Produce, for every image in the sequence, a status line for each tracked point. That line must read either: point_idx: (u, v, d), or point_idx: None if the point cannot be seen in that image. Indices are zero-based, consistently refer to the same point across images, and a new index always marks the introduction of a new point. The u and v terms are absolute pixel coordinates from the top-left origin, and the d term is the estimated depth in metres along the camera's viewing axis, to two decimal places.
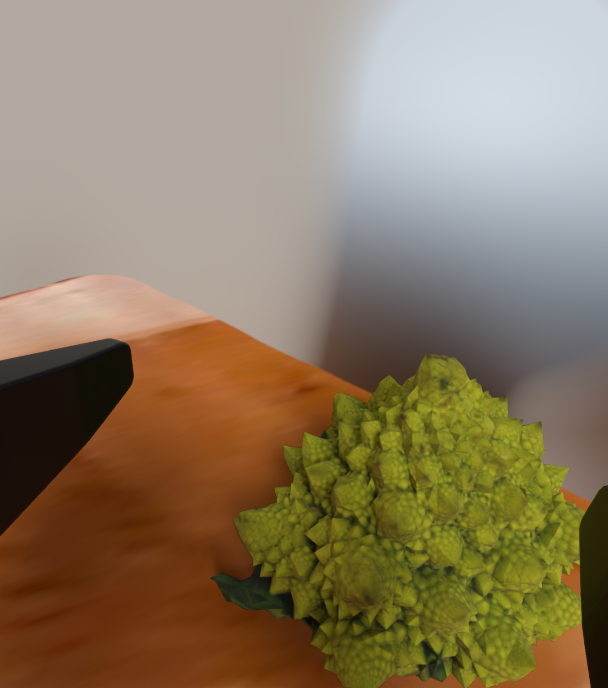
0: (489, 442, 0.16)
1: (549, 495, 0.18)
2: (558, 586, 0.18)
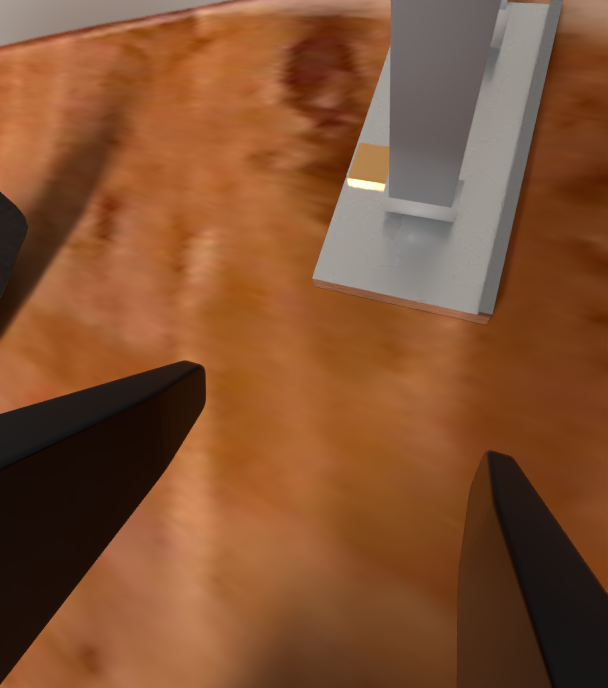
0: None
1: None
2: None
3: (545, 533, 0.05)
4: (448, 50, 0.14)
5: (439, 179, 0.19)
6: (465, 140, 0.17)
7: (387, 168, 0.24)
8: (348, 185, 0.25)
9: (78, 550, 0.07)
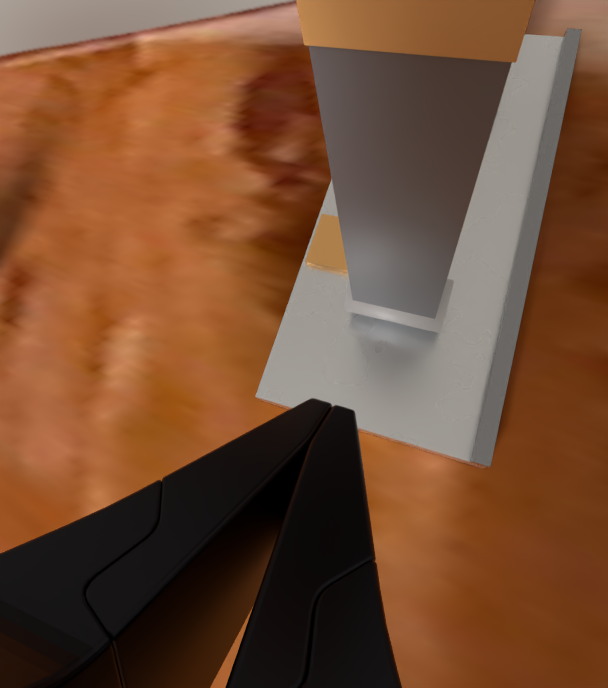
0: None
1: None
2: None
3: (341, 465, 0.06)
4: (416, 154, 0.08)
5: (417, 292, 0.14)
6: (450, 259, 0.12)
7: None
8: (306, 269, 0.19)
9: (233, 620, 0.06)
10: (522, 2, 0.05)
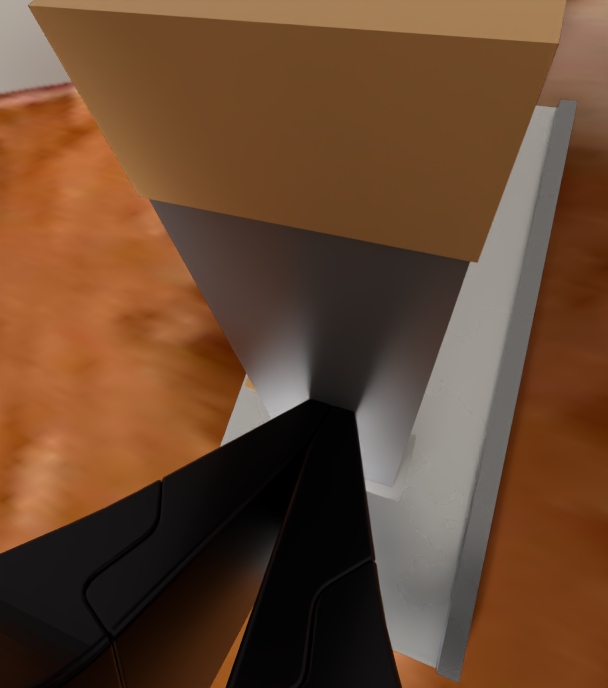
0: None
1: None
2: None
3: (341, 465, 0.06)
4: (338, 344, 0.06)
5: (366, 463, 0.11)
6: (403, 446, 0.09)
7: None
8: (246, 393, 0.16)
9: (233, 620, 0.06)
10: (485, 177, 0.03)
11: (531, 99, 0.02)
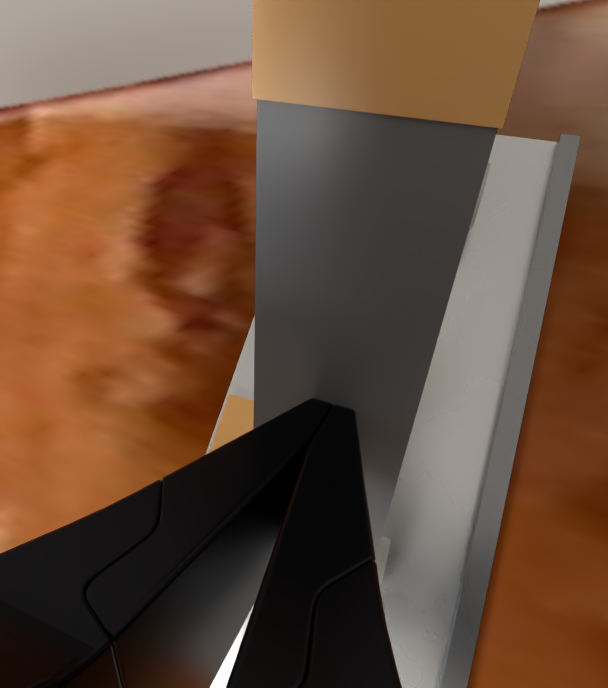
0: None
1: None
2: None
3: (341, 465, 0.06)
4: (368, 274, 0.06)
5: None
6: (397, 467, 0.08)
7: None
8: None
9: (233, 620, 0.06)
10: (513, 44, 0.05)
11: None
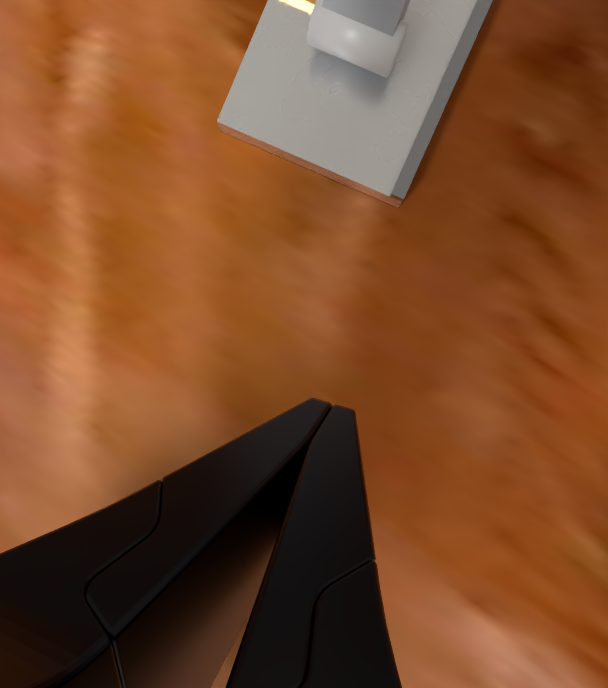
0: None
1: None
2: None
3: (341, 465, 0.06)
4: None
5: None
6: None
7: None
8: None
9: (233, 620, 0.06)
10: None
11: None
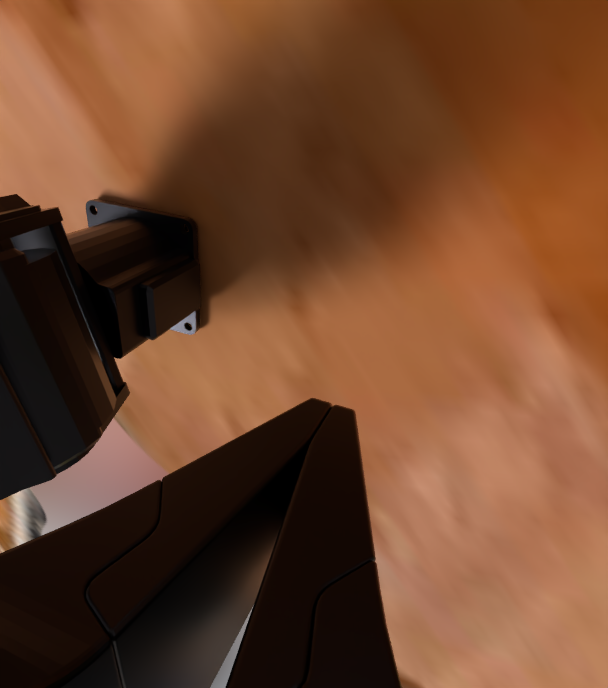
0: None
1: None
2: None
3: (341, 465, 0.06)
4: None
5: None
6: None
7: None
8: None
9: (233, 620, 0.06)
10: None
11: None
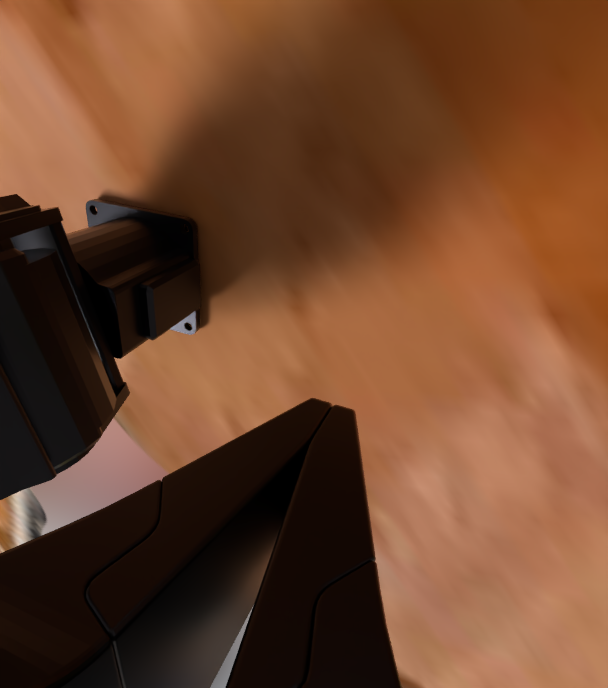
0: None
1: None
2: None
3: (341, 465, 0.06)
4: None
5: None
6: None
7: None
8: None
9: (233, 620, 0.06)
10: None
11: None
